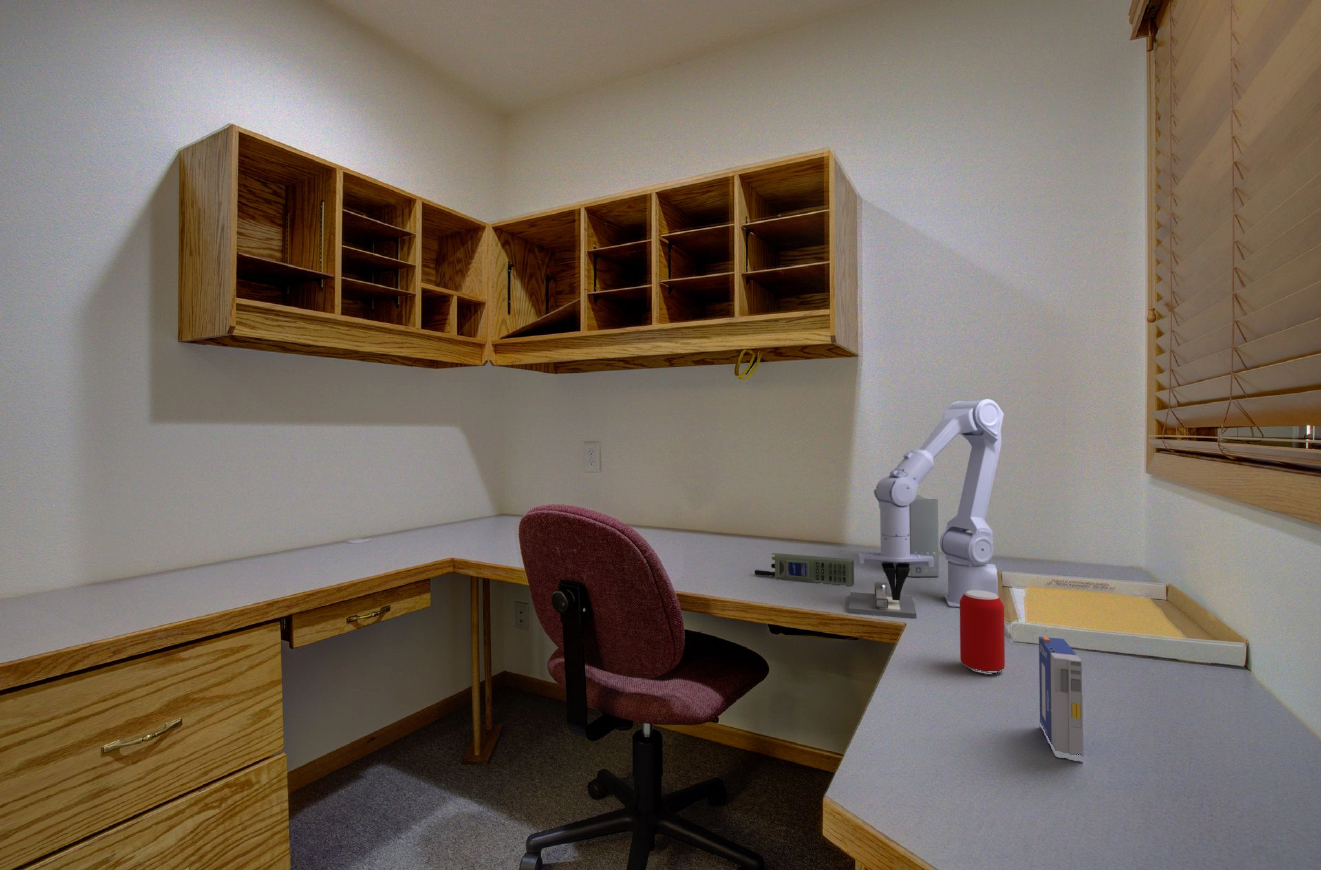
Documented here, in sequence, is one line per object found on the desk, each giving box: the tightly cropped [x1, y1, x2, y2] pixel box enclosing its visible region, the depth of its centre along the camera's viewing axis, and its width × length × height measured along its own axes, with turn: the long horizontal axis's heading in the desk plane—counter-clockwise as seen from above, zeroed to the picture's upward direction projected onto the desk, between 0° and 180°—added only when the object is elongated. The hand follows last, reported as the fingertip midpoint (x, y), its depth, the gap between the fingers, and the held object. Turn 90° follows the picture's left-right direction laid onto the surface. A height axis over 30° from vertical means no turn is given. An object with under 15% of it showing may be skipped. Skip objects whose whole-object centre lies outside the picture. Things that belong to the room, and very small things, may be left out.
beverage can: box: [959, 590, 1006, 674], centre depth 95 cm, size 6×6×12 cm
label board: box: [848, 591, 918, 619], centre depth 128 cm, size 13×13×1 cm
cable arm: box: [874, 581, 888, 608], centre depth 128 cm, size 3×12×2 cm, turn 161°
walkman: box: [1038, 636, 1084, 758], centre depth 72 cm, size 8×3×12 cm, turn 159°
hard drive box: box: [894, 494, 940, 578], centre depth 160 cm, size 16×8×20 cm, turn 179°
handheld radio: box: [754, 552, 855, 587], centre depth 151 cm, size 7×3×25 cm
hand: (895, 599), depth 125 cm, fingers closed
